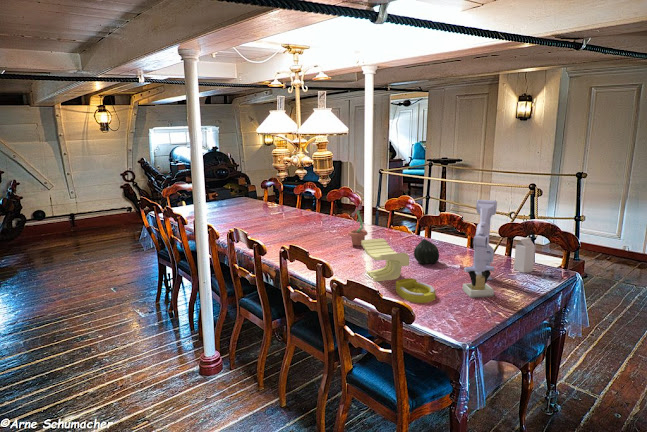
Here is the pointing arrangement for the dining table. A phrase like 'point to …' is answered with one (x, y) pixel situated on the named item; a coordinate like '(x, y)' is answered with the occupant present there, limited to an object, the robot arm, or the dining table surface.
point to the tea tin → (479, 283)
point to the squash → (426, 252)
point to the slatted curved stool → (383, 251)
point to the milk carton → (524, 255)
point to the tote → (478, 291)
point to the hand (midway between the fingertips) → (478, 285)
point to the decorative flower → (358, 234)
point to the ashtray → (415, 291)
